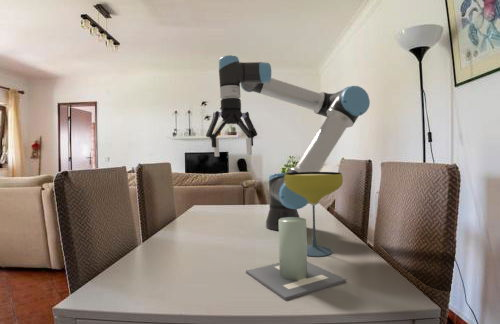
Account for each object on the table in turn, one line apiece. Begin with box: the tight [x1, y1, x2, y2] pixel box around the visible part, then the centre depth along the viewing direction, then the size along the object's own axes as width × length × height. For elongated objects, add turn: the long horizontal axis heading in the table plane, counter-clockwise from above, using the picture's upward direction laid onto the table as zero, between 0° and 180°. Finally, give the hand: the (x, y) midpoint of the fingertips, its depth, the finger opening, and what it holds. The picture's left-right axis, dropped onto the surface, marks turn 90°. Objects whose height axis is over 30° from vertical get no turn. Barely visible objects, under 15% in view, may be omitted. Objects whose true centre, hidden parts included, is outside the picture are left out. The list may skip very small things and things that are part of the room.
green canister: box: [278, 216, 308, 280], centre depth 78 cm, size 7×7×14 cm
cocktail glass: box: [285, 171, 344, 258], centre depth 97 cm, size 18×18×25 cm
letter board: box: [245, 261, 347, 301], centre depth 78 cm, size 18×18×1 cm
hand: (233, 155), depth 114 cm, fingers open, 13 cm apart
